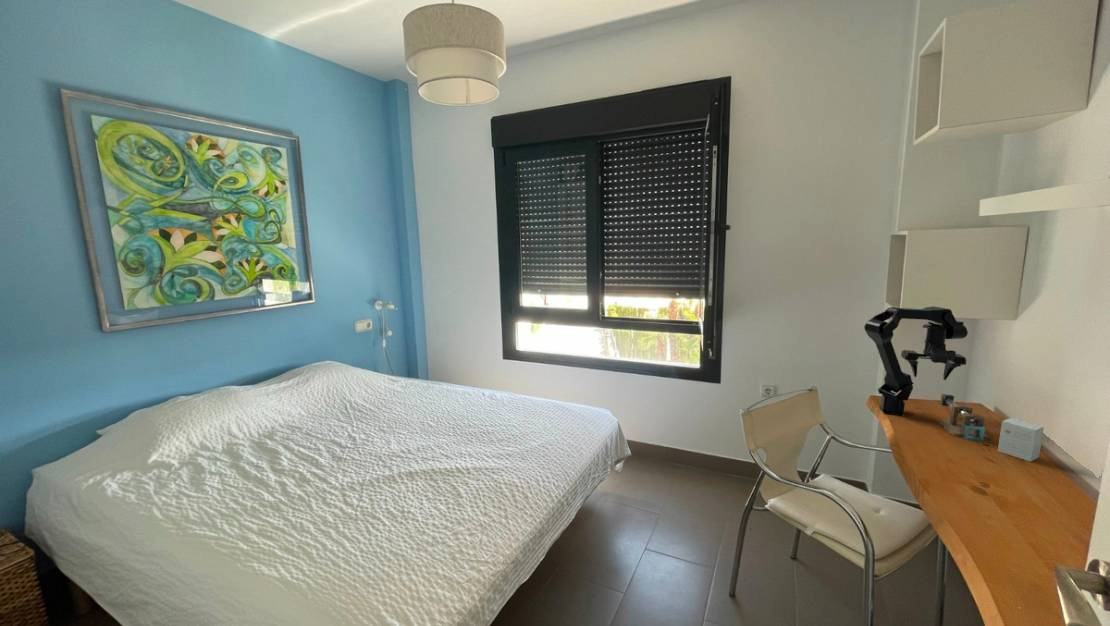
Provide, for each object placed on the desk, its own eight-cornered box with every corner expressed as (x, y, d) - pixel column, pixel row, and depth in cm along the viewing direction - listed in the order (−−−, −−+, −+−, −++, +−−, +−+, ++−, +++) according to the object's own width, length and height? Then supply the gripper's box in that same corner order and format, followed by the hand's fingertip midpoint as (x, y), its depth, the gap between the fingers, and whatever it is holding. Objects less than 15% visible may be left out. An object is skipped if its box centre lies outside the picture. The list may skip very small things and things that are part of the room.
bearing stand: (953, 436, 154) (956, 414, 153) (937, 421, 166) (940, 400, 165) (990, 440, 151) (994, 418, 149) (971, 424, 163) (974, 403, 161)
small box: (1039, 458, 139) (1045, 426, 137) (1030, 462, 137) (1036, 430, 135) (1004, 447, 146) (1010, 417, 144) (996, 451, 144) (1001, 420, 142)
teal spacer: (964, 439, 152) (966, 425, 151) (962, 437, 153) (964, 424, 153) (982, 441, 151) (985, 427, 150) (981, 439, 152) (983, 426, 151)
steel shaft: (966, 425, 153) (967, 414, 153) (940, 403, 172) (941, 394, 171) (977, 427, 152) (979, 416, 151) (950, 404, 171) (952, 395, 170)
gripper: (912, 342, 168) (907, 381, 171) (976, 346, 161) (969, 388, 164) (903, 335, 178) (898, 373, 181) (962, 339, 171) (956, 378, 174)
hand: (929, 378), depth 175 cm, fingers open, 9 cm apart
